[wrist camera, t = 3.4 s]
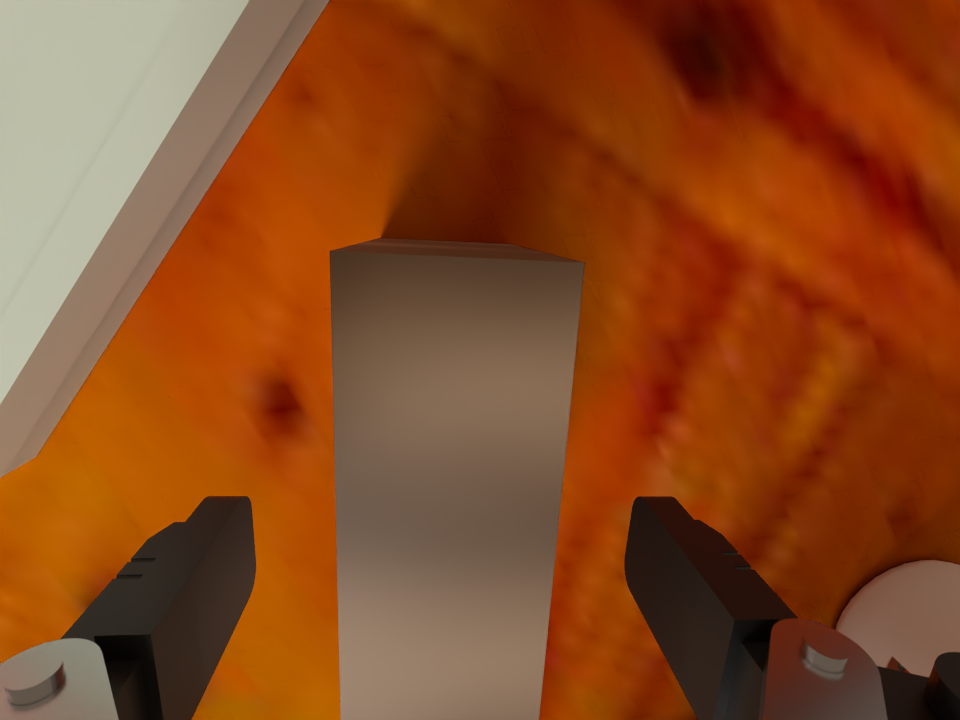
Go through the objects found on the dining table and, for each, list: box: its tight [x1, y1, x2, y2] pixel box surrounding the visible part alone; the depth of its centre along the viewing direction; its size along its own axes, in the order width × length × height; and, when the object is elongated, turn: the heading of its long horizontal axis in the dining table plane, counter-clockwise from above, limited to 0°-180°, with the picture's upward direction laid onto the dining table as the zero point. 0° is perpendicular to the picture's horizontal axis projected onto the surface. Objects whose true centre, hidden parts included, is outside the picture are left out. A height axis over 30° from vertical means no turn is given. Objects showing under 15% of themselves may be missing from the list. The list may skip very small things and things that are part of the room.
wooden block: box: [330, 238, 585, 720], centre depth 15 cm, size 12×5×9 cm, turn 177°
